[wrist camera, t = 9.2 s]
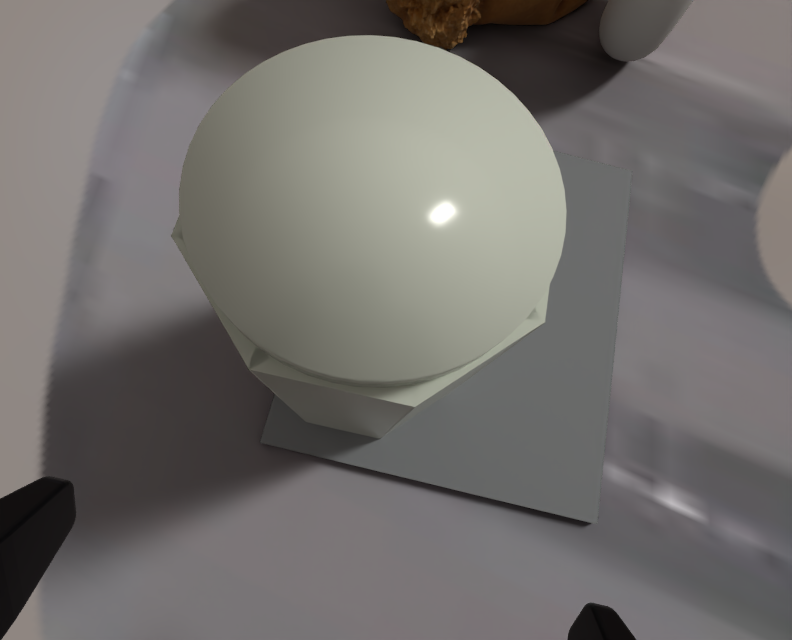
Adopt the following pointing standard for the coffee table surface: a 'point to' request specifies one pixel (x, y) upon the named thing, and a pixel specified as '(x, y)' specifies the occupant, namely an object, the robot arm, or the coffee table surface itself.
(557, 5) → the stuffed squirrel
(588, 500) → the slate mat
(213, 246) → the pale green faceted cylinder
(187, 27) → the coffee table surface
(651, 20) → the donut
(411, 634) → the coffee table surface
